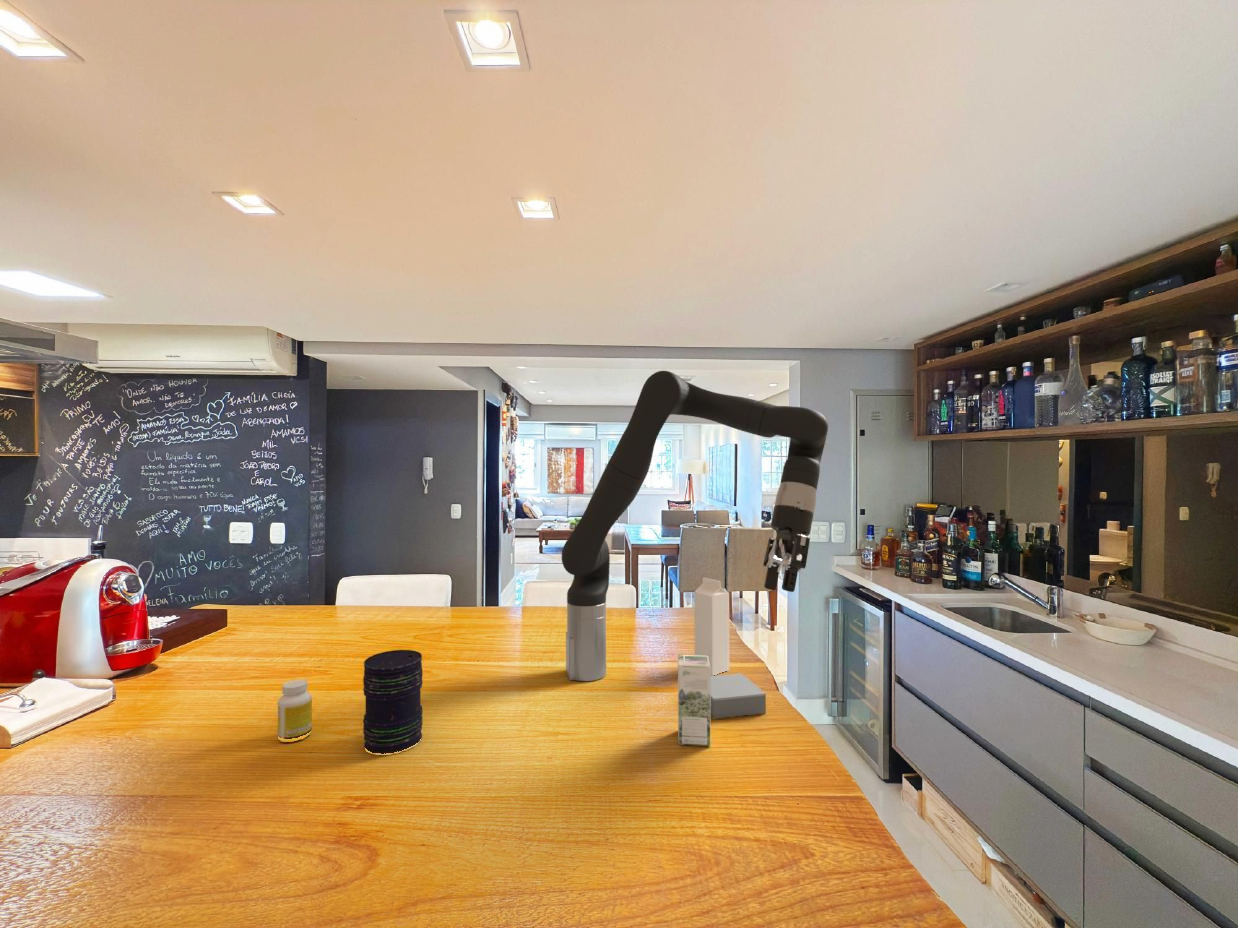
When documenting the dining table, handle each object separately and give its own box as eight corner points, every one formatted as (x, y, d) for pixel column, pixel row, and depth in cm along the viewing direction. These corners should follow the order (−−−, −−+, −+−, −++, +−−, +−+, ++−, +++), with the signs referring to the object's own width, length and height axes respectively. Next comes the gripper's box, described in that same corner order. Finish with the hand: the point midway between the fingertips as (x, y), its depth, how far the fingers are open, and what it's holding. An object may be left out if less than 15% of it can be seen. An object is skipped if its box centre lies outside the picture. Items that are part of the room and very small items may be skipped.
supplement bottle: (318, 732, 103) (318, 679, 103) (292, 746, 98) (292, 690, 98) (296, 727, 105) (296, 676, 105) (270, 741, 100) (270, 686, 100)
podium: (713, 719, 108) (713, 698, 108) (694, 696, 119) (694, 677, 119) (765, 713, 110) (765, 693, 110) (741, 691, 121) (741, 673, 121)
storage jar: (364, 761, 93) (364, 672, 93) (361, 736, 101) (361, 654, 102) (426, 747, 97) (426, 662, 97) (418, 724, 106) (418, 646, 106)
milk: (712, 676, 130) (711, 583, 130) (694, 669, 135) (693, 578, 134) (730, 670, 133) (729, 579, 133) (711, 663, 138) (711, 575, 138)
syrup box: (708, 731, 103) (708, 653, 103) (711, 747, 97) (710, 665, 97) (678, 730, 103) (677, 652, 103) (678, 746, 98) (677, 664, 98)
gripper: (762, 507, 116) (746, 584, 112) (791, 498, 102) (774, 585, 99) (795, 517, 117) (781, 593, 113) (829, 509, 103) (814, 596, 99)
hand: (778, 590), depth 106 cm, fingers open, 8 cm apart
